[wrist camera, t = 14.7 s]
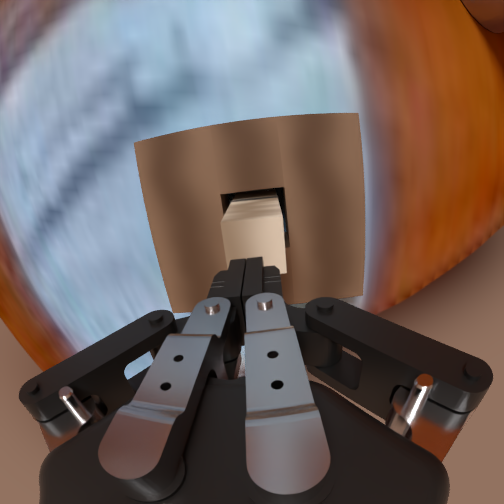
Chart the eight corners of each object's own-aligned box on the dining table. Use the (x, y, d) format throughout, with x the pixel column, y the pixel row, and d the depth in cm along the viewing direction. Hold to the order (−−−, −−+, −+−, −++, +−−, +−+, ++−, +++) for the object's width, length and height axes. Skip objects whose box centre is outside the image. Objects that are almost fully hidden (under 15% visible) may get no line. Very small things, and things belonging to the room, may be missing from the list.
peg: (275, 188, 25) (283, 215, 16) (279, 226, 27) (287, 273, 17) (235, 192, 26) (219, 221, 16) (240, 230, 27) (228, 278, 18)
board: (344, 117, 22) (358, 113, 19) (351, 276, 28) (362, 295, 24) (151, 141, 24) (133, 142, 20) (183, 292, 30) (173, 313, 26)
